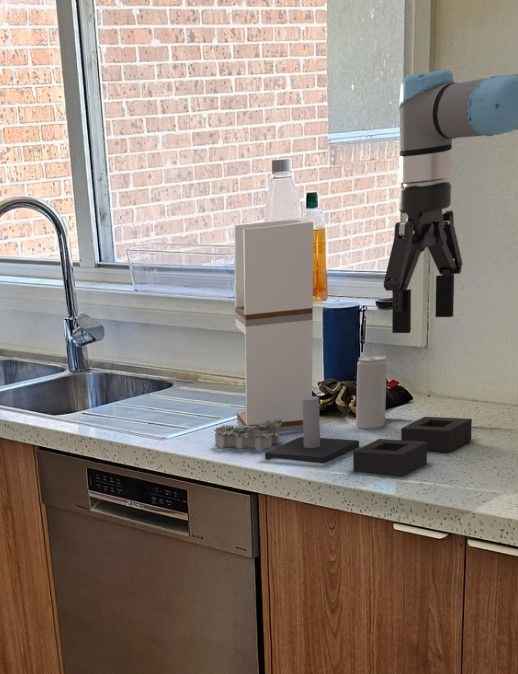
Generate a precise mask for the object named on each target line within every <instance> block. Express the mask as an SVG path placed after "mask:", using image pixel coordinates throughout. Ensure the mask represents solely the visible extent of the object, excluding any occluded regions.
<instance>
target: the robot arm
mask: <svg viewBox="0 0 518 674" xmlns="http://www.w3.org/2000/svg"><path fill="white" fill-rule="evenodd" d="M399 91H400V94H399V104H398V116H399V164H398V165H397V166H398V168H399V183H400V184H401V185H403V186H402V187H400V189H399V192H398V195H399V196H398V208H399V209H398V210H399V212H400V213H402V214H406V221H397V222H395V224H394V232H393V233H394V235H393V242H392V245H391V250H390V253H389V254H390V255H389V258H388V263H387V267H386V271H385V276H384V281H383V288H384V289H385V291H386V292H388V291H389V292H392V293H391V294H392V300H391V301H392V302H391V304H392V309H391V312H392V317H391V318H392V320H391V321H392V322H391V325H392V326H391V327H392V330H391V331H392V332H391V333H392V334H410V333H411V331H412V330H411V329H412V288H411V289H410V288H409V285H410V283H411V280H412V277H413V275H414V272H415V269H416V266H417V264H418V262H419V258H420V255H421V253H423V252H424V251H425V250H426V248H428V251H429V254H430V255H431V257H432V260H433V262H434V264H435V266H436V269H437V271H438V273H439V275H438V274H437V275H436V276H435V314H434V315H435V318H453V317H454V307H455V306H454V304H455V303H454V302H455V275H460V274H461V272H462V267H463V259H462V255H461V251H460V250H461V249H460V247H459V242H458V237H457V232H456V228H455V223H454V221H455V219H454V211H453V210H445V209H448V208H449V207H450V206H451V203H452V201H451V200H452V184H451V182H450V181H448V179H450V178H452V164H453V163H452V153H453V152H452V151H453V150H452V149H453V140H454V139H460V138H474V137H493V136H499V135H503V134H508V133H511V132H513V131H516V130H518V73H514V74H508V75H507V74H506V75H505V74H504V75H503V74H502V75H493V76H489V77H486V78H485V77H484V78H479V79H472V80H468V81H462V82H455V81H454V73H453V71H452V70H450V69H441V70H435V71H429V72H423V73H416V74H410V75H407V76H405V77H404V78H403V79H402V81H401V82H400V89H399ZM408 288H409V289H408Z"/></svg>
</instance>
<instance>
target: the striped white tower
mask: <svg viewBox="0 0 518 674" xmlns="http://www.w3.org/2000/svg"><path fill="white" fill-rule="evenodd" d="M233 240H234V241H233V243H234V244H233V245H234V246H233V247H234V249H233V250H234V253H233V254H234V301H235V302H234V306H235V327H236V329H238V330H240V332H241V333H243V334H244V359H245V360H244V367H245V371H244V373H245V374H244V375H245V411H243V412H237V413H236V421H237V422H236V423H237V424H238V425H239V426H238V427H240V426H247V425H248V426H256V425H257V424H262V425H264V424H265V422H266V421H270V420H272V421H274V420H281V421H282V424H281V425H280V427H278V430H279V433H286V432H296V431H303V403H302V399H303V398H305V397H310V396H313V326H314V325H313V320H314V319H313V318H314V317H313V316H314V312H313V309H314V307H313V305H314V303H313V302H314V221H311V220H307V219H304V218H301V217H300V218H290V219H279V220H270V221H261V222H252V223H242V224H234V225H233Z"/></svg>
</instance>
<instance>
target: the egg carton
mask: <svg viewBox="0 0 518 674" xmlns="http://www.w3.org/2000/svg"><path fill="white" fill-rule="evenodd" d="M281 424H282V421H281V420H274V421H272V420H270V421H266V422H265V424H264V425H262V424H257V425H256V426H248V425H247V426H236V427H234V425H228V424H226V425H225V424H222V426H219V427H216V428H215V429H213V428H212V430H213V431H214V432H215V433H214V438H215V439H214V440H215V441H214V442H215V446H217V447H218V448H221V449H222V448H223V449H224V448H227V447H228V448H229V447H235V448H236V449H246V448H252V449H253V448H254V450H263V449H271V448H272V447H273V444H279V443H280V442H281V439H280V437H281V436H280V432H279V430H278V427H280V425H281Z"/></svg>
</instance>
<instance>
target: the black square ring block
mask: <svg viewBox="0 0 518 674" xmlns="http://www.w3.org/2000/svg"><path fill="white" fill-rule="evenodd" d="M352 464H353V465H352V470H353V472H354V473H363V474H370V475H379V476H387V477H397V478H402V477H405V476H407V475H408V474H411V473H413V472H415V471H416V470H418V469H421V468H422V467H424V466H426V465H427V464H428V451H427V442H421V441H405V440H401V439H387V438H378V439H376V440H374V441H372V442H370V443H368V444H366V445H364V446H362V447H359V448H357V449H355V450H353V452H352Z"/></svg>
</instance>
